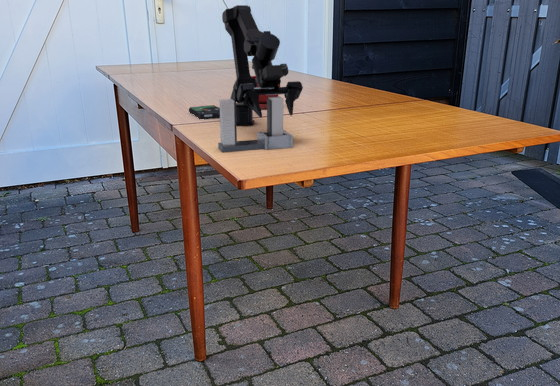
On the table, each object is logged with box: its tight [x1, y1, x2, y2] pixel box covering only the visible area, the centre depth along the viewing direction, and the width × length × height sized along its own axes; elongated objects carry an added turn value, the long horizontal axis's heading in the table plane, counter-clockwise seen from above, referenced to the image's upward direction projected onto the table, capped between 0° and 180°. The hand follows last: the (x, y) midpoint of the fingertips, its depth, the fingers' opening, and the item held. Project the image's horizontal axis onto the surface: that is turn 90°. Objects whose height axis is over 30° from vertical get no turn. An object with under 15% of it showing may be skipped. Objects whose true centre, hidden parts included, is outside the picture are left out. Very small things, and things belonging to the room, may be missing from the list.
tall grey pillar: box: [266, 95, 284, 136], centre depth 155 cm, size 3×4×12 cm
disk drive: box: [188, 105, 220, 120], centre depth 199 cm, size 10×3×15 cm
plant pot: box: [251, 75, 281, 110], centre depth 213 cm, size 13×13×12 cm
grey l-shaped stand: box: [217, 98, 294, 153], centre depth 153 cm, size 7×20×14 cm, turn 110°
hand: (276, 115), depth 153 cm, fingers open, 9 cm apart
